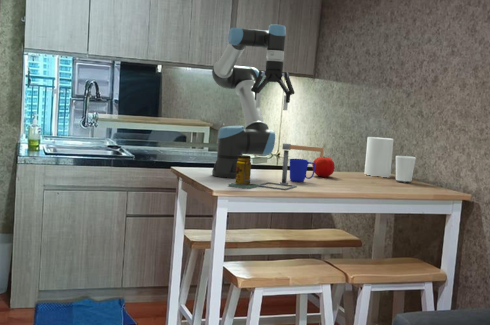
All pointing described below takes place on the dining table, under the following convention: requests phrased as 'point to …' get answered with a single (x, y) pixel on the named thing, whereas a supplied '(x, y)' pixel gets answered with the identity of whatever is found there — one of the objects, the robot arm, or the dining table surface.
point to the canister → (379, 156)
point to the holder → (276, 187)
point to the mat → (243, 185)
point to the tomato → (323, 166)
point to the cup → (404, 168)
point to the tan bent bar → (303, 148)
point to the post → (285, 167)
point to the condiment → (243, 170)
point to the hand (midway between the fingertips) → (271, 109)
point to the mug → (299, 169)
